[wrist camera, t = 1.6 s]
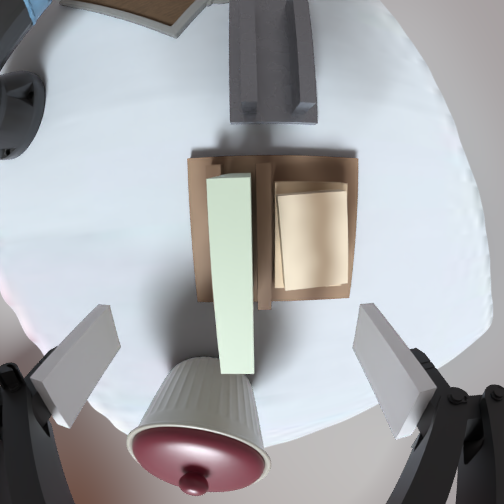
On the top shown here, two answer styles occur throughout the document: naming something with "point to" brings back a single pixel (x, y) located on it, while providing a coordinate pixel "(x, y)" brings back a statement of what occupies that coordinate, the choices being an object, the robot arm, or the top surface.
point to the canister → (202, 430)
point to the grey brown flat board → (149, 12)
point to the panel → (232, 269)
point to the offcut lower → (277, 189)
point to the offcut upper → (313, 238)
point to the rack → (266, 217)
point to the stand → (271, 63)
